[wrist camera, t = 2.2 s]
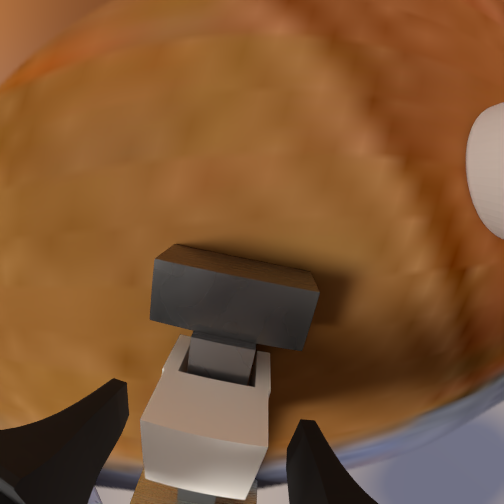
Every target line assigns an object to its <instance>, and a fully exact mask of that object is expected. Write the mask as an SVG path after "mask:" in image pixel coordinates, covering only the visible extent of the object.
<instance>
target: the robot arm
mask: <svg viewBox="0 0 504 504" xmlns="http://www.w3.org/2000/svg"><path fill="white" fill-rule="evenodd" d="M128 416H129V408H128V394H127V383H126V382H123V381H120V380H117V379H115V378H113V379H112V380H110V381H109V382H107V383H106V384H104V385H103V386H101V387H100V388H99V389H97V390H96V391H94V392H93V393H91V394H90V395H88V396H87V397H85V398H83V399H82V400H80V401H79V402H77V403H75V404H74V405H72V406H70V407H68V408H66V409H64V410H63V411H61V412H59V413H57V414H54V415H52V416H50V417H48V418H45V419H43V420H40V421H37V422H34V423H31V424H27V425H24V426H20V427H16V428H11V429H5V430H0V504H102V502H101V499H100V497H99V495H98V493H97V490H96V488H95V486H94V485H95V482H96V480H97V477H98V475H99V473H100V471H101V469H102V467H103V465H104V464H105V462H106V460H107V458H108V457H109V455H110V453H111V451H112V450H113V448H114V446H115V444H116V443H117V441H118V439H119V437H120V436H121V434H122V431H123V429H124V427H125V424H126V421H127V419H128ZM286 471H287V482H288V492H289V502H290V504H378V503H377V502H376V501H375V500H373V499H372V498H371V497H370V496H369V495H368V494H367V493H365V491H364V490H363V489H362V488H361V487H360V486H359V485H358V484H357V483H356V482H355V481H354V480H353V478H352V477H351V476H350V475H349V473H348V472H347V471H346V469H345V468H344V467H343V465H342V464H341V463H340V461H339V460H338V458H337V457H336V455H335V454H334V452H333V451H332V449H331V447H330V446H329V444H328V442H327V441H326V439H325V437H324V436H323V434H322V432H321V430H320V428H319V427H318V425H317V423H316V422H315V421H314V420H302V419H300V422H299V424H298V426H297V428H296V430H295V433H294V435H293V437H292V439H291V441H290V443H289V445H288V448H287V462H286Z"/></svg>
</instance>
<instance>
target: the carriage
mask: <svg viewBox="0 0 504 504" xmlns="http://www.w3.org/2000/svg"><path fill="white" fill-rule="evenodd" d="M190 342H191V337H189V336H185V335H181V334H180V336H179V338H178V340H177V342H176V344H175V345H174V347H173V349H172V351H171V353H170V355H169V357H168V359H167V361H166V363H165V365H164V367H163V369H162V376H161V378H160V380H159V382H158V384H157V386H156V388H155V390H154V392H153V394H152V396H151V398H150V400H149V402H148V404H147V406H146V408H145V410H144V413H143V415H142V417H141V419H140V426H141V440H142V452H143V462H144V471H145V479H148V480H151V481H155V482H158V483H162V484H165V485H169V486H173V487H177V488H181V489H185V490H189V491H194V492H199V493H204V494H209V495H214V496H220V497H226V498H233V499H241V500H245V499H246V496H247V494H248V492H249V490H250V488H251V486H252V483H253V481H254V479H255V477H256V474H257V472H258V470H259V468H260V465H261V463H262V461H263V458H264V456H265V454H266V451H267V449H268V398H269V395H270V392H271V374H270V353H268V352H262V351H257V354H256V358H255V362H254V365H253V369H252V373H251V377H250V381H249V385H248V386H246V385H240V384H235V383H230V382H225V381H220V380H215V379H210V378H206V377H201V376H197V375H193V374H188V373H187V367H188V359H189V350H190Z"/></svg>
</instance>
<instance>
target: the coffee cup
mask: <svg viewBox="0 0 504 504" xmlns="http://www.w3.org/2000/svg"><path fill="white" fill-rule="evenodd" d="M466 174H467V182H468V187H469V191H470V195H471V198H472V201H473V204H474V206H475V209H476V211H477V213H478V215H479V217H480V219H481V220H482V222H483V223H484V225H485V226H486V227H487V228H488V229H489V230H490V231H491V232H492V233H494V234H495V235H496V236H498V237H500V238H502V239H504V102H503V103H500V104H497V105H495V106H492V107H490V108H488V109H486V110H485V111H483V112H482V113H481V114H480V115H479V116H478V118H477V119H476V120H475V122H474V124H473V126H472V128H471V131H470V135H469V138H468V142H467V149H466Z"/></svg>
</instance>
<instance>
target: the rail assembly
mask: <svg viewBox="0 0 504 504" xmlns="http://www.w3.org/2000/svg"><path fill="white" fill-rule="evenodd" d="M319 294H320V291H319V289H318V287H317V285H316V283H315V281H314V279H313V277H312V274H311V272H310V271H305V270H300V269H295V268H290V267H285V266H280V265H275V264H270V263H265V262H260V261H255V260H250V259H245V258H240V257H235V256H230V255H225V254H220V253H215V252H211V251H206V250H201V249H196V248H191V247H186V246H181V245H176V244H174V245H173V246H171V247H170V248H168V249H167V250H166V251H164V252H163V253H162V254H160V255H159V256H158V257H156V258H155V261H154V271H153V282H152V294H151V308H150V320H153V321H157V322H161V323H165V324H169V325H173V326H177V327H181V328H185V329H189V330H193V331H194V332H193V334H192V336H191V342H190V350H189V359H188V367H187V373H188V374H193V375H197V376H201V377H206V378H210V379H215V380H220V381H225V382H230V383H235V384H240V385H246V386H247V383H248V379H249V375H250V371H251V367H252V363H253V359H254V355H255V351H256V344H262V345H267V346H273V347H279V348H285V349H291V350H298V351H302V350H303V347H304V343H305V340H306V337H307V334H308V331H309V328H310V324H311V321H312V318H313V314H314V311H315V308H316V304H317V301H318V297H319ZM256 502H257V480H254V481H253V483H252V486H251V488H250V490H249V492H248V494H247V496H246V499H245V500H241V499H233V498H226V497H220V496H214V495H209V494H204V493H199V492H194V491H189V490H185V489H181V488H177V487H173V486H169V485H165V484H162V483H158V482H155V481H151V480H148V479H145V471H144V468H143V471H142V474H141V476H140V479H139V481H138V484H137V487H136V489H135V492H134V494H133V497H132V500H131V502H130V504H256Z"/></svg>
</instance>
